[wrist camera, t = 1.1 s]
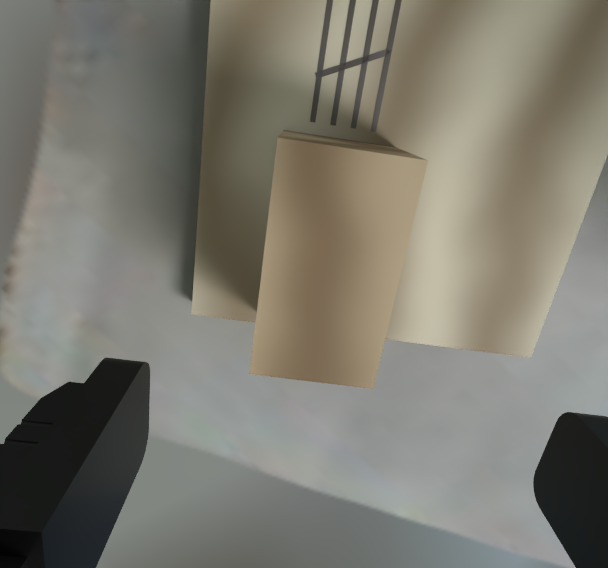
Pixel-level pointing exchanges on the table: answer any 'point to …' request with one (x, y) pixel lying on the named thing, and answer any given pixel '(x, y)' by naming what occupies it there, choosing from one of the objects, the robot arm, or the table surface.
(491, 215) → the board
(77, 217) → the table surface
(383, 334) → the block
